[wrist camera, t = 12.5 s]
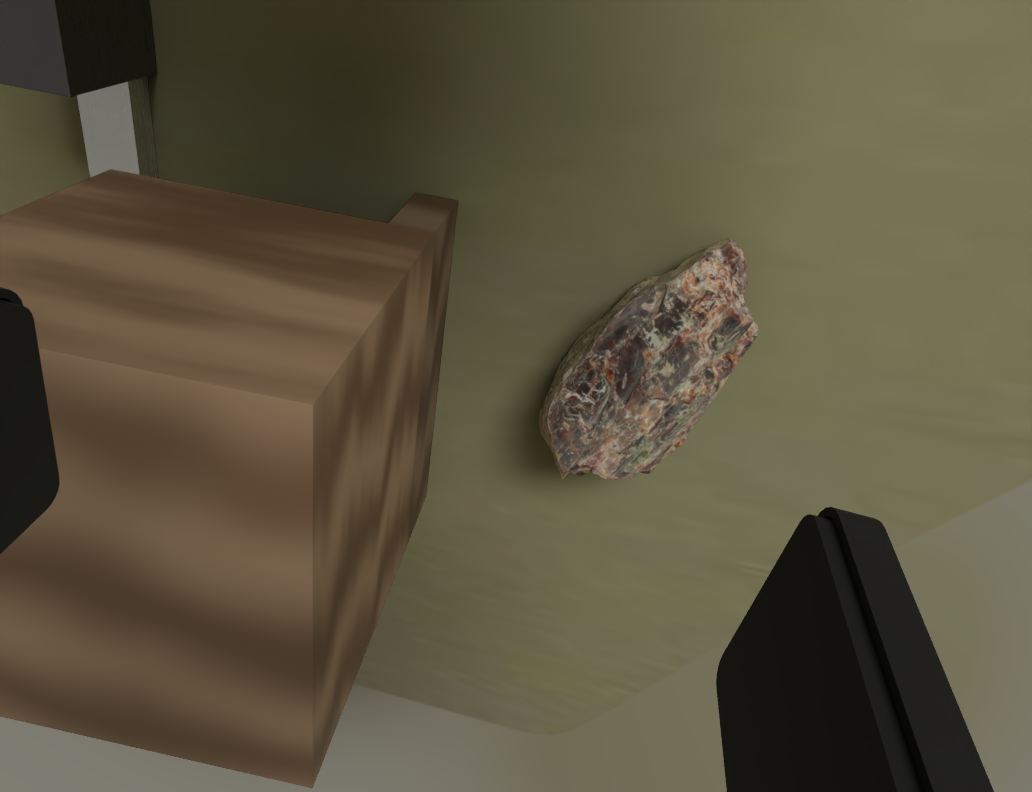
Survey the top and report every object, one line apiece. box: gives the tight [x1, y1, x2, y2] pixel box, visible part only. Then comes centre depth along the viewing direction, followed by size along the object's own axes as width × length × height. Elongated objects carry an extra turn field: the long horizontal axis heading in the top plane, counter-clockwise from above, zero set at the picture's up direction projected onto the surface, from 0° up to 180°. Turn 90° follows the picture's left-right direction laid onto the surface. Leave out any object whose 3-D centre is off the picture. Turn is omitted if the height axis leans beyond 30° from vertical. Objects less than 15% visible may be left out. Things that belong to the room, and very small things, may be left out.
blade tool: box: [0, 0, 159, 178], centre depth 33 cm, size 20×4×6 cm, turn 172°
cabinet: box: [0, 169, 458, 788], centre depth 32 cm, size 18×14×18 cm
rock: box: [539, 238, 759, 480], centre depth 34 cm, size 7×11×10 cm
